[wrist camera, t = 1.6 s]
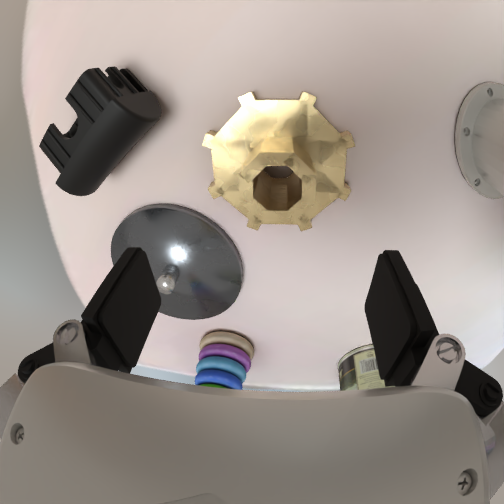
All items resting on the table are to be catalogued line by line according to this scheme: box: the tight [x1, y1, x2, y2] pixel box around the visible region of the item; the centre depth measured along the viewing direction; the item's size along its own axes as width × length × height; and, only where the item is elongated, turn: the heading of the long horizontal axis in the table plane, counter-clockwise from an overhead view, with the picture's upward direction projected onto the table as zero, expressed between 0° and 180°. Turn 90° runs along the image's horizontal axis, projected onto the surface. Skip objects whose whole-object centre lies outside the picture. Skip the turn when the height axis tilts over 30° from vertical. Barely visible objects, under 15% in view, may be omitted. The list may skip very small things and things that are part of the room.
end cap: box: [39, 67, 161, 196], centre depth 19 cm, size 10×7×7 cm
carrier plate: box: [111, 204, 243, 320], centre depth 30 cm, size 16×16×4 cm
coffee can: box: [338, 344, 395, 391], centre depth 33 cm, size 10×10×14 cm
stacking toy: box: [195, 332, 254, 390], centre depth 32 cm, size 8×8×19 cm
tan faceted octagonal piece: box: [202, 91, 355, 231], centre depth 20 cm, size 12×12×6 cm
